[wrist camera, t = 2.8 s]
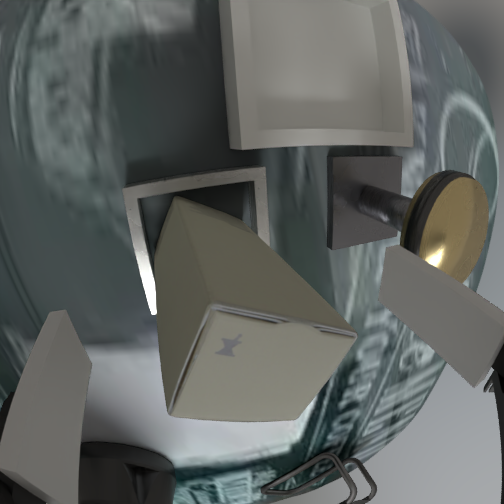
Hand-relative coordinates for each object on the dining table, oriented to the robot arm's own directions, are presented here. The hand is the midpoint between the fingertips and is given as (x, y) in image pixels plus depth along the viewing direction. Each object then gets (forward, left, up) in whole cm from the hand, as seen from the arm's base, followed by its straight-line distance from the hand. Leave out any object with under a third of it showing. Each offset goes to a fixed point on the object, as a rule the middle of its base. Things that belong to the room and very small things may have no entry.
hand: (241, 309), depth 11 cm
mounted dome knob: (+13, +1, -9) cm, 16 cm away
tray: (+9, +12, -9) cm, 17 cm away
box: (0, 0, -10) cm, 10 cm away
